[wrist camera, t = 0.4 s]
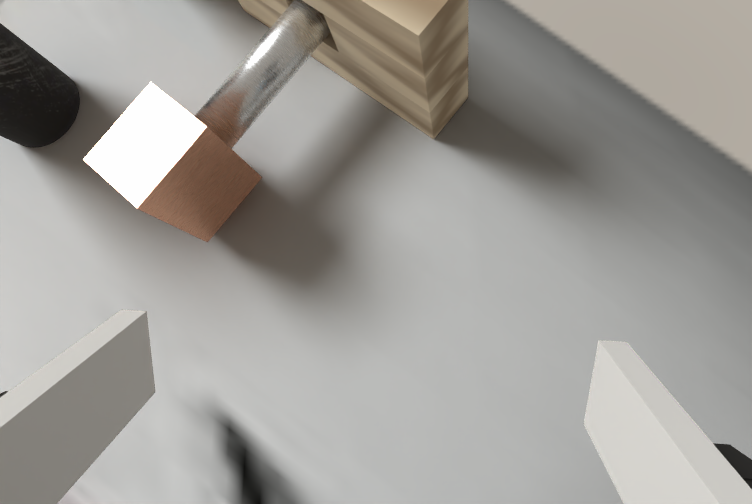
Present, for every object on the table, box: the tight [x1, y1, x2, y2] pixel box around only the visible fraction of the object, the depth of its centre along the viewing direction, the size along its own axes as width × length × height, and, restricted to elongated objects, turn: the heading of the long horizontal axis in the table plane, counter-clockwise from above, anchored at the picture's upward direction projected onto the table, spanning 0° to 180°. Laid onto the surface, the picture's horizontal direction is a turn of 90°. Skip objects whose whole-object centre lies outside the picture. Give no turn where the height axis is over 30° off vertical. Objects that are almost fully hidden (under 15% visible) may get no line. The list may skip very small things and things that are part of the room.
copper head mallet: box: [83, 0, 330, 242], centre depth 34 cm, size 22×5×8 cm, turn 140°
